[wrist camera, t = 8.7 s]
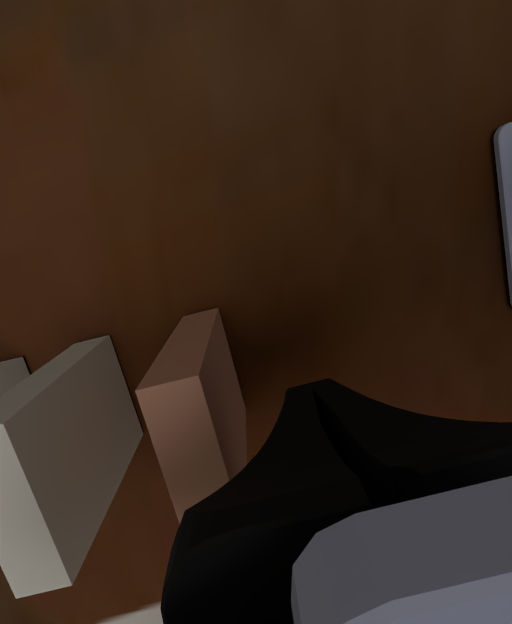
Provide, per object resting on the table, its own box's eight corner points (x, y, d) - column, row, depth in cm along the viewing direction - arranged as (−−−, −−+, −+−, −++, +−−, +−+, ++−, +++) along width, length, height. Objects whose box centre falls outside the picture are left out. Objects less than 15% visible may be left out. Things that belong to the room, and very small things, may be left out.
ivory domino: (109, 335, 18) (2, 423, 10) (143, 434, 19) (72, 585, 11) (74, 343, 18) (-59, 438, 10) (110, 442, 19) (16, 598, 11)
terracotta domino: (212, 417, 19) (190, 557, 11) (182, 316, 18) (134, 390, 10) (245, 409, 19) (247, 543, 11) (218, 307, 17) (198, 375, 10)
